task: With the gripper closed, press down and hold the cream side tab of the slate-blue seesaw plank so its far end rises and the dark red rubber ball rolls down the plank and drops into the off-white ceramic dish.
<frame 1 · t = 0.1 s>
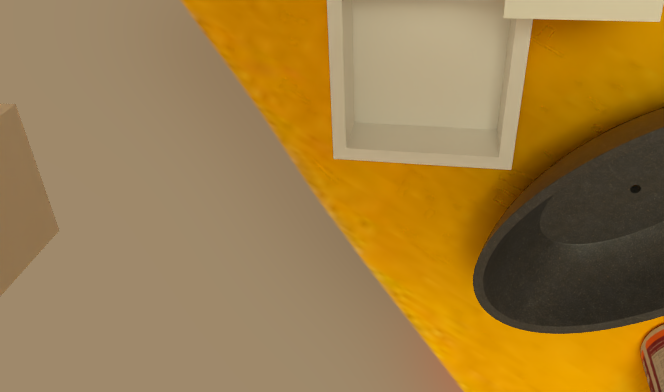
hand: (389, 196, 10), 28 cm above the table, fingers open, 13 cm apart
bowl: (629, 173, 40), on the table
dish: (428, 55, 38), on the table
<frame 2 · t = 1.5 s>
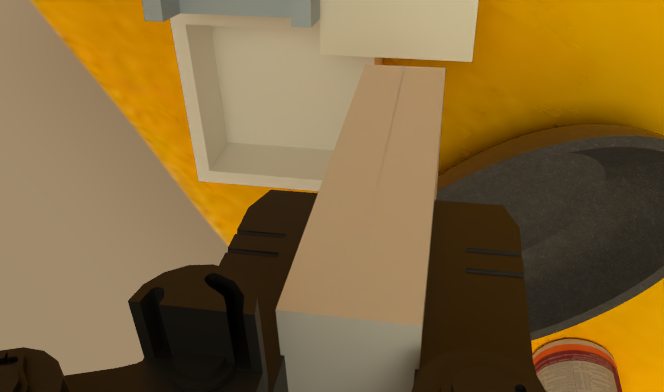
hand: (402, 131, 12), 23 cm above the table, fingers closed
bowl: (502, 196, 40), on the table
pill bottle: (570, 361, 47), on the table
dish: (293, 77, 37), on the table
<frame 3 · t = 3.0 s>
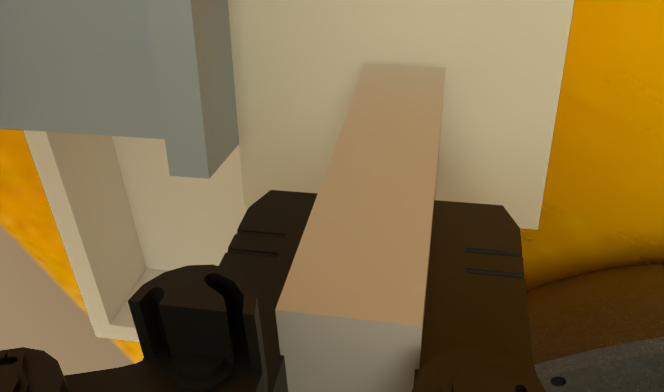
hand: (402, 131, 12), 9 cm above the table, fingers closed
bowl: (553, 347, 27), on the table
dish: (236, 181, 24), on the table
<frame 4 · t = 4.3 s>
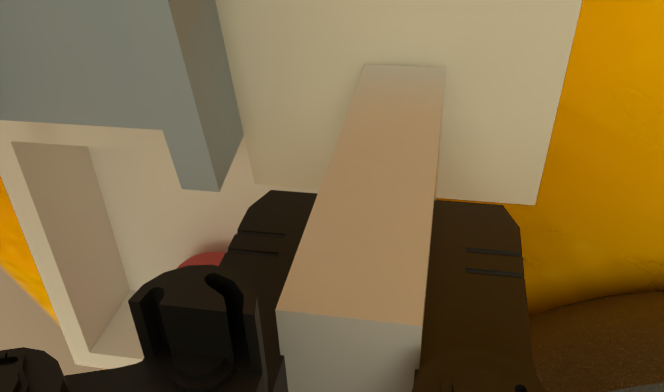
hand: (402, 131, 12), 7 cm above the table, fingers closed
bowl: (557, 374, 26), on the table
dish: (223, 201, 23), on the table
ball: (213, 299, 23), point 2 cm above the table, tilted 26°, touching dish
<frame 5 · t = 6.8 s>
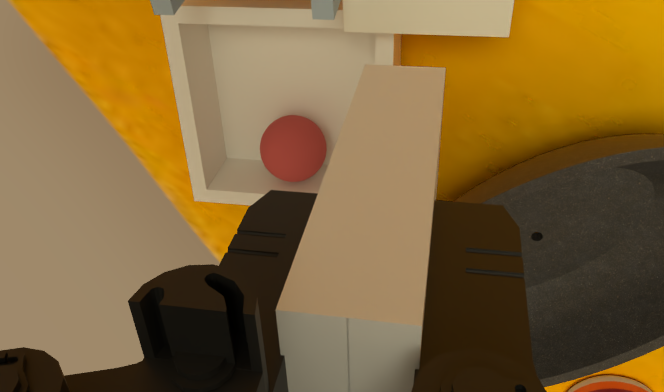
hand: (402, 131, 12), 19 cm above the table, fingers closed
bowl: (534, 217, 36), on the table
dish: (300, 84, 33), on the table
ball: (293, 148, 33), point 2 cm above the table, tilted 21°, touching dish
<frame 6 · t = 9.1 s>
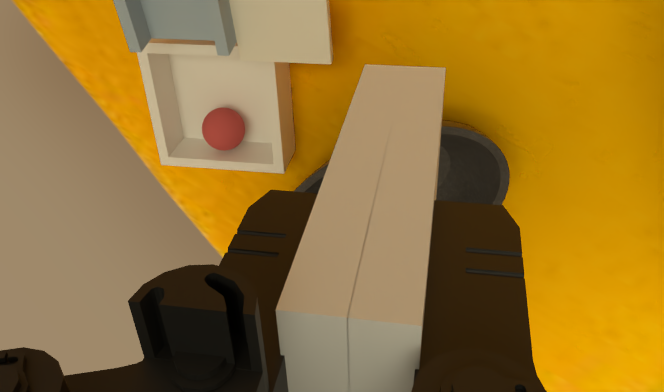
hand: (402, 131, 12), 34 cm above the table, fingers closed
bowl: (386, 176, 54), on the table
dish: (229, 89, 52), on the table
ball: (223, 129, 51), point 2 cm above the table, tilted 17°, touching dish
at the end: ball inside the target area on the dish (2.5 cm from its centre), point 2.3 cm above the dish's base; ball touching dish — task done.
